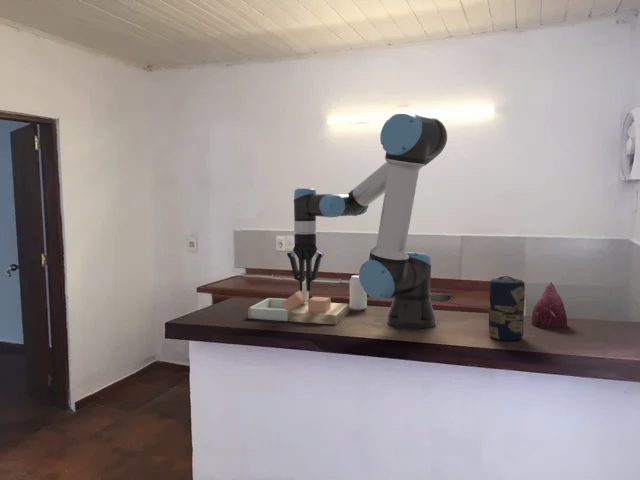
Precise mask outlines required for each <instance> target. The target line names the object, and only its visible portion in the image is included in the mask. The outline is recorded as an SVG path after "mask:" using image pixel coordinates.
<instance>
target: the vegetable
mask: <svg viewBox="0 0 640 480" xmlns="http://www.w3.org/2000/svg"><path fill="white" fill-rule="evenodd" d="M567 318H568V317H567V312H566V308H565V305H564V302H563V299H562V298H561V295H560V294H559V293H558V291H557V289H556V287H555V285H554V284H553V282H552V281H550V282H549V283H548V284H546V286H545V288H544V290H543V292H542V294H541V296H539V299H538V300H537V301H536V303H535V305H534V306H533V310H532V313H531V318H530V319H531V325H532V326H534V327H536V326H537V327H536V328H540V327H541V328H540V329H545V328H546V330H562V329H566V328H567V327H568V319H567Z"/></svg>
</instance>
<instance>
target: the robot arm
mask: <svg viewBox="0 0 640 480" xmlns="http://www.w3.org/2000/svg"><path fill="white" fill-rule="evenodd" d="M447 141H448V131H447V129H446V127H445V125H444V124H443V122H441V121H440V120H439V119H437V118H436V117H433V116H427V115H422V114H419V113H418V114H417V113H413V112H397V113H396V114H395V113H394V114H393V115H391V117H389V118H388V119H387V120H386V121H385V122H384V124H383V126H382V127H381V131H380V144H381V145H382V148H383V150H384V151H385V156H384V160H385V163H384V162H383V163H384V164H382V165H381V166H380V167H379V168H377V169H376V170H375V171H373V172H372V173H370V175H369V176H368V177H366V178H364V180H363V181H361V182H360V183H359V184H357V186H355V187H354V188H352V190H350V191H349V192H348V193H340V194H339V193H320V194H319V193H318V194H317V190H316V189H315V188H296V189H295V190H294V193H293V194H294V195H293V209H294V210H293V215H294V216H293V217H294V218H293V219H294V220H293V223H294V225H293V227H294V228H293V229H294V233H295V234H294V236H293V238H294V240H293V241H294V242H293V243H294V246H293V248H292V250H291V251H290V252H287V253H286V255H287V257H288V259H289V263H290V266H291V270H292V273H293V274H292V275H293V278H294V280H296V281H298V282H299V291H301V293H302V301H304V302H306V301H308V300H309V299H310V297H309V294H310V293H309V292H310V291H311V290H312V281H315V280H317V277H318V274H319V273H318V272H319V269H320V266H321V265H320V264H321V261H322V259H323V257H324V252H321V251H319V250H318V247H317V234H316V231H317V217H325V218H338V217H348V216H353V217H358V216H361V215H364V214H365V213H366V212H367V210H368V208H369V205H371V203H373V202H374V201H376V199H378V198H380V197H381V196H382V195H383V194H384V195H383V203H382V209H381V213H380V222H379V227H378V233H377V240H376V245H375V246H373V247H372V248H371V249H369V256H368V260H366V261H365V262H364V263H362V264H361V266H360V268H359V271H358V275H359V280H360V284H361V286H362V287H363V289H364V291H365V292H366V293H367V296H368V297H371V298H373V299H376V300H378V299H389V298H391V297H393V298H392V299H393V300H392V302H391V305H390V308H389V311H388V315H387V324H389V325H391V326H392V327H396V328H402V329H410V330H411V329H413V330H414V329H415V330H416V329H418V330H419V329H428V328H431V327H435V326H436V325H437V323H436V321H437V320H436V319H437V318H436V314H435V312H434V309H433V304H432V301H431V285H432V283H431V281H432V278H431V275H432V262H431V256H430V255H429V254H428V253H425V252H424V253H422V252H421V253H420V252H411V251H406V246H407V241H408V235H409V230H410V224H411V219H412V218H411V217H412V212H413V206H414V201H415V195H416V189H417V184H418V179H419V178H418V177H419V172H420V170H421V169H422V168H423V167H425V166H427V165H428V164H429V163H431V162H432V161H433V160H434V159H436V158H437V157H438V156H439V155H440V154H441V153H442V152H443V151H444V149H445V147H446V144H447ZM296 257H297V258H298V263H297V260H296ZM314 257H315V260H314V265H313V264H312V262H313V258H314ZM312 265H313V270H312Z"/></svg>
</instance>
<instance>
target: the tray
mask: <svg viewBox="0 0 640 480" xmlns="http://www.w3.org/2000/svg"><path fill="white" fill-rule="evenodd" d="M286 299H287V298H277V297H274V298H273V297H267V298H266V299H263V300H261V301H260V302H257V303H256V304H254V305H252V306H250V307H248V308H247V314H248V315H247V317H248V319H250V320H251V319H252V320H265V321H280V322H281V321H282V322H290V321H289V312H288V310H286V309H285V307H284V306H283V305H282V302H284V301H285V300H286ZM304 302H305V301H304ZM304 302H302V303H304ZM302 303H301V304H302ZM301 304H300V305H301ZM298 306H299V305H298ZM298 306H297V307H298ZM294 309H295V308H294ZM291 311H292V310H291Z"/></svg>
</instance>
